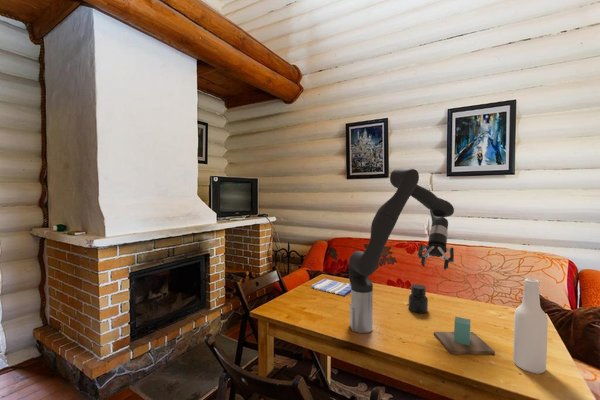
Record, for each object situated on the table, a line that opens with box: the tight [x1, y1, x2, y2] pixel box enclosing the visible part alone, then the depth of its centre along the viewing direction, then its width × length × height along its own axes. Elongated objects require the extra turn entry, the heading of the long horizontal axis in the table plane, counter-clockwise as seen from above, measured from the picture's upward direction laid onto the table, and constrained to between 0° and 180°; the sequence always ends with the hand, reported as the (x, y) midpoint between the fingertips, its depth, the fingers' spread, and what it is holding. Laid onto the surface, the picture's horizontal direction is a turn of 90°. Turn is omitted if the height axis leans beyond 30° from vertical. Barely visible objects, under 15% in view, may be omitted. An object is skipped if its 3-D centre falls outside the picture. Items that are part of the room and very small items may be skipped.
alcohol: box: [512, 277, 549, 375], centre depth 97 cm, size 9×9×30 cm
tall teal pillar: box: [453, 316, 472, 346], centre depth 112 cm, size 5×5×8 cm
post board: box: [433, 331, 496, 355], centre depth 112 cm, size 16×14×7 cm
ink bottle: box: [408, 283, 429, 314], centre depth 143 cm, size 10×9×12 cm
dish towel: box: [311, 278, 351, 297], centre depth 174 cm, size 17×24×3 cm
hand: (434, 267), depth 124 cm, fingers open, 8 cm apart
